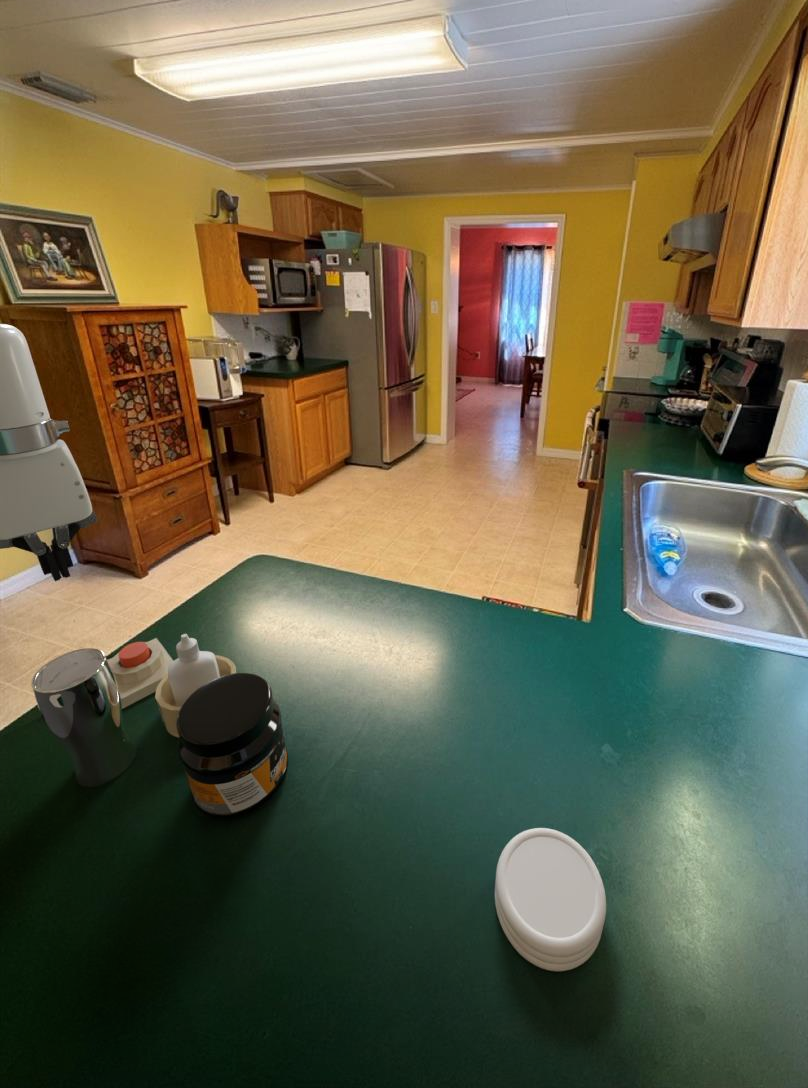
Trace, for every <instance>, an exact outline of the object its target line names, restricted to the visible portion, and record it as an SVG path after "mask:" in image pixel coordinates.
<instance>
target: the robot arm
mask: <svg viewBox="0 0 808 1088" xmlns="http://www.w3.org/2000/svg"><path fill="white" fill-rule="evenodd" d="M43 393H44V392H43V390H42V386H41V384H40V380H39V376H38V373H37V370H36V366H35V364H34V361H33V358H32V354H31V350H30V348H29V344H28V341H27V339H26V336H25V335H24V333H23V332H22V331H21V330H20V329H18V327H15V326H14V325H10V324H6V323H0V550H3V549H10V548H16V549H18V550H19V549H20V550H23V551H25V552H29V553H32V554H33V555H35V556H36V558H37V560H38V563H39V565H40V568H41V571H42V574H43V575H44V576H47V575H51V577H52V579H53V581H54V582H57V581H60V580H61V579H62V578H63V579H64V578H65V579H67V578H70V577H71V573H70V570H69V568H71V567H74V562H73V559H72V556H71V554H70V550H69V548H68V547H69V546H70V545H71V541H72V540H73V539H74V537H75V536H76V535H77V534H78V533H79V531H80V530H82V529H84V528H87V527H89V526H91V525H93V524H95V523H97V522H98V516H97V515H96V513H95V511H94V510H93V505H92V501H91V498H90V495H89V492H88V489H87V488H86V485H85V481H84V479H83V477H82V473H81V472H80V469H79V467H78V464H77V463H76V461H75V459H74V457H73V455H72V452H71V451H70V449H69V447H68V445H67V443H66V442H65V441H64V440H63V439H59V438H58V437H60V435H61V434H63V433H66V432H67V433H69V432H71V429H70V426H69V423H68V421H67V420H61V421H60V420H54V419H53V418H51V416H50V412H49V409H48V406H47V403H46V399H45V395H44V394H43ZM47 530H51V532H52V539H51V542H50V545H48V544H47V543H46V542H45V541H43V540H41V538H40V536H39V535H38V533H39V532H43V531H47Z"/></svg>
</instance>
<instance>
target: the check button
mask: <svg viewBox="0 0 808 1088" xmlns="http://www.w3.org/2000/svg"><path fill="white" fill-rule="evenodd" d="M145 642H146V641H135V642H132V643H129V644H127V645H125V646H124V647H122V648H121V649H120V650H119V652H118V653H119V659H120V662H121V665H122V666H123V667H125V668H130V667H136V666H138V665H140V664H142V663H144V662H145V661H147V660H148V659H149V657H150V652H149V649H148V645H147V644H146V643H145Z"/></svg>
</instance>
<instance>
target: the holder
mask: <svg viewBox="0 0 808 1088" xmlns="http://www.w3.org/2000/svg"><path fill="white" fill-rule="evenodd" d="M214 655H215V658H216V662H217V666H218V670H219V674H220V677H221V676H225V675H229V674H234V673H238V671H237V666H236V664H235V663H234V661H232V660H231V659H230V658H228V657H226V656H222V655H219V654H218V655H217V654H214ZM154 698H155V702H156V705H157V709H158V712H159V714H160V715H159V716H160V717H161V721H162V724H163V726H164V728H165V730H166V731H167V732H168V733H169V734H170V735H171V736H172V737H176V738H179V734H178V730H177V725H176V721H177V716H178V713H179V710H180V708H181V707H182V706H177V705H176V702H175V699H174V695H173V692H172V688H171V685H170V681H169V677H168V674H166V675H165V676H164V677H163V679H162V680H161V682H160V683H159V685H158V686H157V688H156V692H155V695H154Z"/></svg>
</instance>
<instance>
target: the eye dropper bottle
mask: <svg viewBox="0 0 808 1088" xmlns="http://www.w3.org/2000/svg"><path fill="white" fill-rule="evenodd" d="M175 650H176V654H177V658H176V659H173V662H172V663H171V664H170V665H169V667H168V677H169V681H170V685H171V688H172V692H173V695H174V699H175V702H176V705H177V706H182V705H183V704H184V702H185V701H186V700H187V699H188V697H189V696H190V695H191V694H192V693H194V692H195V691H196V690H197V689H198V688H200V687H201V686H203V685H204V684H206V683H208V682H210V681H212V680H214V679H216V678H219V677H220V674H219V670H218V666H217V662H216V658H215V655H216V654H214V652H212V651H209V650H200V648H199V644H198V640H197V639H196V638H194V637H189V635H188V634H187V633H183V634H181V635H180V641H179V642H177V644H176V646H175Z"/></svg>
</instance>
